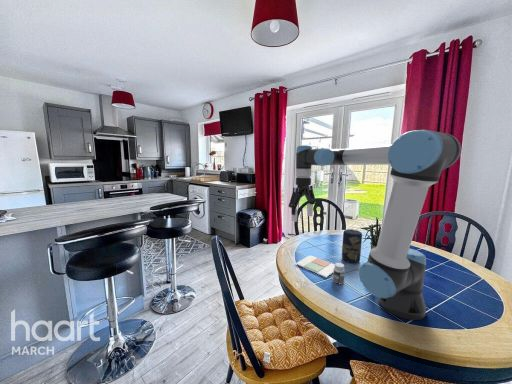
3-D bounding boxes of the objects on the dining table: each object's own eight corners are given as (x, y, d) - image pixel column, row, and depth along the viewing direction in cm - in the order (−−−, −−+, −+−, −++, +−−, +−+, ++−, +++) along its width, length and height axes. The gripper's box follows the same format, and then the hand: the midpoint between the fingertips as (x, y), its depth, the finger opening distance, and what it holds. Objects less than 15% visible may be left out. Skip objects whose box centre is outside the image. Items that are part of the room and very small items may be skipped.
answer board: (339, 268, 108) (340, 266, 108) (326, 278, 99) (326, 276, 99) (310, 256, 121) (310, 254, 121) (295, 264, 112) (295, 262, 112)
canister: (342, 263, 114) (344, 231, 111) (340, 255, 123) (342, 226, 120) (361, 265, 111) (364, 233, 109) (357, 257, 121) (360, 227, 118)
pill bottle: (330, 279, 98) (331, 263, 97) (338, 277, 100) (339, 261, 98) (338, 285, 94) (339, 268, 92) (346, 283, 95) (347, 266, 94)
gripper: (310, 175, 115) (309, 212, 118) (281, 178, 98) (281, 221, 101) (323, 176, 109) (321, 215, 112) (294, 179, 93) (293, 225, 96)
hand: (302, 218), depth 107 cm, fingers open, 13 cm apart
